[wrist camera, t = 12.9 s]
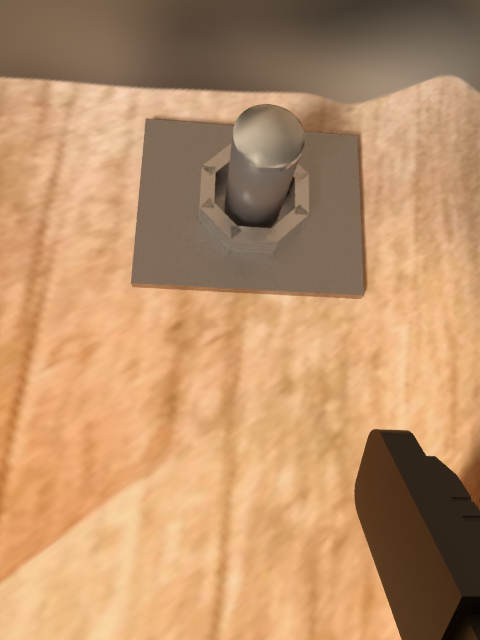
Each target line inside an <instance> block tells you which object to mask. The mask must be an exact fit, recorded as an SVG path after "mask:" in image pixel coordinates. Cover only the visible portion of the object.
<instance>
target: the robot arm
mask: <svg viewBox="0 0 480 640" xmlns="http://www.w3.org/2000/svg"><path fill="white" fill-rule="evenodd" d="M355 505H356V510H357V514H358V517H359V520H360V523H361V525H362V528H363V531H364V534H365V537H366V540H367V542H368V545H369V548H370V551H371V554H372V557H373V559H374V562H375V565H376V568H377V571H378V574H379V576H380V579H381V582H382V585H383V588H384V591H385V593H386V596H387V599H388V602H389V605H390V608H391V610H392V613H393V616H394V619H395V622H396V625H397V627H398V630H399V633H400V636H401V639H402V640H480V510H479V509H478V507H477V506H476V504H475V503H474V502H472V501H471V496H470V495H469V493H468V492H467V490H466V489H465V487H464V486H463V484H462V483H461V481H460V479H459V478H458V476H457V475H456V474H455V473H454V472H452V471H451V470H450V469H449V468H448V467H447V466H446V465H444V464H443V463H442V462H441V461H440V460H439V459H438V458H437V457H435V456H426V455H425V453H424V452H423V450H422V448H421V447H420V445H419V443H418V442H417V440H416V438H415V436H414V435H413V434H412V433H411V432H410V431H407V430H380V429H374V430H372V431H371V432H370V434H369V436H368V439H367V443H366V446H365V450H364V453H363V457H362V461H361V464H360V468H359V471H358V475H357V479H356V483H355Z"/></svg>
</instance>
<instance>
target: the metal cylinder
mask: <svg viewBox="0 0 480 640" xmlns="http://www.w3.org/2000/svg"><path fill="white" fill-rule="evenodd" d="M304 144H305V133H304V129H303V126H302V125H301V123H300V121H299V120H298V119H297V117H296V116H295V115H294V114H292V113H291V112H290V111H288V110H286V109H284V108H282V107H280V106H276V105H271V104H262V105H256V106H253V107H251V108H249V109H247V110H245V111H244V112H243V113H242V114H241V115H240V116H239V117H238V119H237V120H236V122H235V124H234V128H233V136H232V145H231V153H230V162H229V171H228V179H227V188H226V197H225V211H226V214H227V216H228V217H229V218H230V219H231V220H232V221H233V222H234V223H235V224H236V225H237V226H244V227H260V228H268V227H270V226H271V225H273V224H274V222H275V221H276V220H277V218H278V216H279V213H280V210H281V208H282V205H283V202H284V200H285V197H286V194H287V191H288V189H289V186H290V183H291V181H292V178H293V175H294V172H295V170H296V167H297V164H298V162H299V159H300V156H301V153H302V151H303V148H304Z"/></svg>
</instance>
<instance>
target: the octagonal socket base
mask: <svg viewBox="0 0 480 640" xmlns="http://www.w3.org/2000/svg"><path fill="white" fill-rule="evenodd" d="M233 128H234V126H233V125H221V124H209V123H196V122H184V121H172V120H159V119H147V118H146V123H145V134H144V145H143V157H142V168H141V179H140V190H139V201H138V212H137V223H136V234H135V246H134V257H133V268H132V279H131V284H132V286H133V287H144V288H163V289H182V290H201V291H220V292H239V293H258V294H277V295H296V296H315V297H334V298H353V299H361V298H362V297H363V296H364V280H363V256H362V231H361V207H360V182H359V158H358V136H357V135H344V134H332V133H320V132H307V131H304V133H305V144H304V148H303V151H302V153H301V156H300V159H299V162H298V164H297V167H296V170H295V172H294V175H293V178H292V181H291V183H290V186H289V189H288V191H287V194H286V197H285V200H284V202H283V205H282V208H281V210H280V213H279V216H278V218H277V220H276V221H275V222H274V224H273V225H271V226H270V227H268V228H260V227H244V226H237V225H236V224H235V223H234V222H233V221H232V220H231V219H230V218H229V217H228V216H227V214H226V211H225V197H226V188H227V179H228V171H229V162H230V153H231V145H232V136H233Z"/></svg>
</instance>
